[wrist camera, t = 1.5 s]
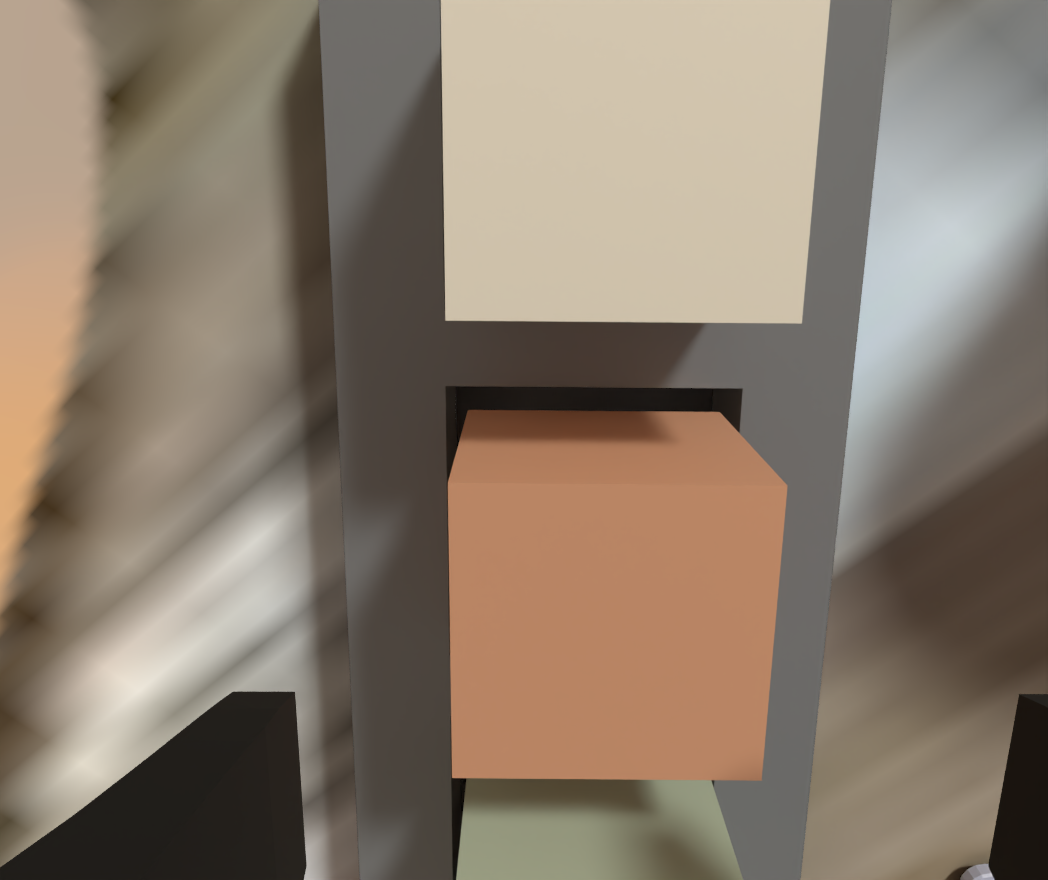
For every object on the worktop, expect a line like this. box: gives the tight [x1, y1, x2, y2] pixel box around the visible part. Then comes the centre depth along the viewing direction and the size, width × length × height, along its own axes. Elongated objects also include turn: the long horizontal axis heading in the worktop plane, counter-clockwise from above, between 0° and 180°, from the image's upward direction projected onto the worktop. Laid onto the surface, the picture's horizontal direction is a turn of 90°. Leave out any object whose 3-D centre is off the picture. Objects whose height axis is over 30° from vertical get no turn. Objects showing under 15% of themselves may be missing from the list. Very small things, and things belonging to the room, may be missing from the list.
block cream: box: [441, 0, 830, 324], centre depth 13 cm, size 4×4×4 cm
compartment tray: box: [319, 0, 892, 880], centre depth 17 cm, size 20×9×2 cm, turn 0°
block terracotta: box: [448, 410, 788, 781], centre depth 14 cm, size 4×4×4 cm
